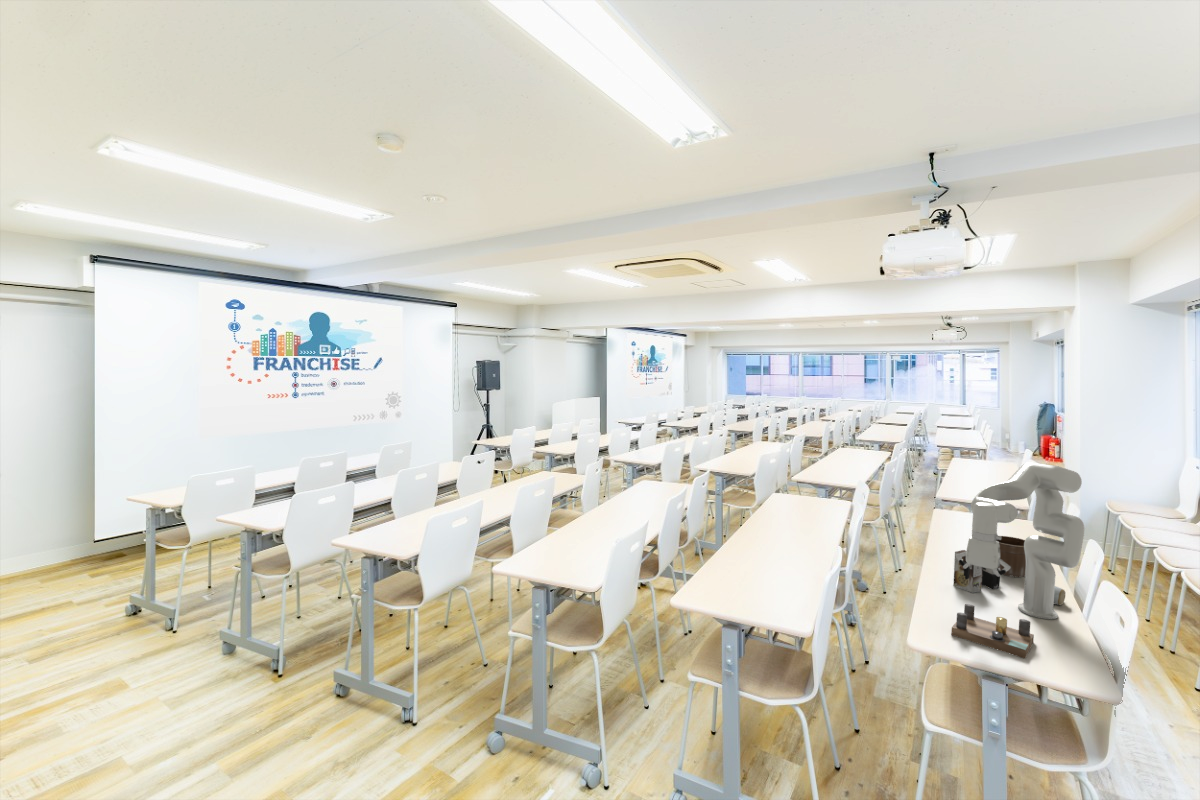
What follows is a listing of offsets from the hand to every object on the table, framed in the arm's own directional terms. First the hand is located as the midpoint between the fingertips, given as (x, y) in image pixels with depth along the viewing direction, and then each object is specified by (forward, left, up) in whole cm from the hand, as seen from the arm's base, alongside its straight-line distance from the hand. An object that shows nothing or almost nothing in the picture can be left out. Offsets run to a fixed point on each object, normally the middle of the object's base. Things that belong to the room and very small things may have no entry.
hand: (981, 581), depth 202 cm
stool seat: (0, +4, -20) cm, 21 cm away
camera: (-60, -9, -20) cm, 64 cm away
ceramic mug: (-58, +14, -20) cm, 63 cm away
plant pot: (-84, -4, -20) cm, 86 cm away
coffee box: (-47, -14, -20) cm, 53 cm away
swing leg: (+3, +7, -17) cm, 18 cm away
